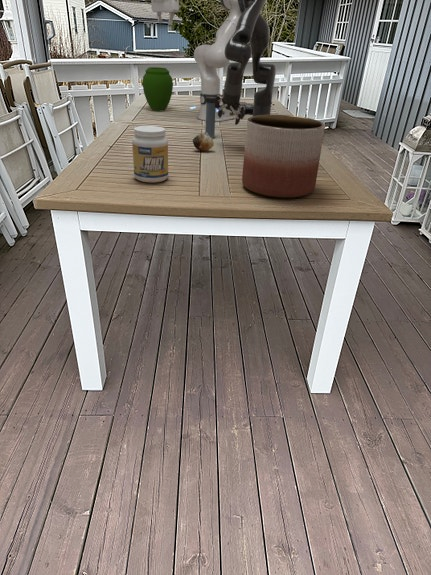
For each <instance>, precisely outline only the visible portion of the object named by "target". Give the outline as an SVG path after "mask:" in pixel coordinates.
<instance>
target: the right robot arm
mask: <svg viewBox="0 0 431 575" xmlns="http://www.w3.org/2000/svg"><path fill="white" fill-rule="evenodd" d="M266 1H267V0H243V3H244V7H245V11H244V12H243V13H242V14H241V16H240V17H239V19H238V22H237V26H236V29H235V32H234V34H233V35H232V37H231V38H230V40H229V41H228V43H227V44H226V47H225V52H224V53H225V57H226V58H227V59H228V60H230V61H231V62H232V63H228V65H227V68H226V75H225V80H224V85H223V93H222V94H221V93H220V94H219V95H218V96H217V97H216V101H215V108H217V109H218V116H219V118H220V117H221V116H222V112H223V108H226V109H227V110H230V112H232V111H233V113H234V114H233V115H234V116H235V120H234V125H235V126H237V125H239V123H240V121H241V120H243V119H244V117H245V116H246V114H245V109H246V105H240V102H241V96H242V89H243V80H244V74H245V70H246V67H247V66H248V63H249V61H250V60H251V65H252V78H253V82H254V83H255V84H259V85H265V88H263V89H261V90H258V91H255V92H254V95H253V114H252V116H257V115H271V113H272V112H271V111H272V104H271V103H273V95H274V86H275V80H276V72H277V68H276V65H275V64H274V63H264V62H261V58H262V56H263V55H264V53H265V51H266V50H267V48H268V47H269V43H270V29H269V28H270V27H269V24H268V22H267V20H266V19H265V17H264V16H263V15H262V13H261V12H262V10H263V8H264V6H265V3H266ZM230 61H229V62H230ZM221 95H223V97H222V96H221ZM220 101H222V102H223V104H222V105H221V106H220V105H219V104H220ZM239 108H240V111H241V114H240V111H239ZM235 110H236V111H235Z"/></svg>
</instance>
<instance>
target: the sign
mask: <svg viewBox="0 0 431 575" xmlns="http://www.w3.org/2000/svg"><path fill="white" fill-rule="evenodd" d="M240 105H246V109H245V115H253V105H254V103H248V102H246V101H240ZM235 111H236V110H235ZM239 111H240V108H239ZM231 113H233V111H231ZM240 114H241V111H240Z"/></svg>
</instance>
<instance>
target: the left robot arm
mask: <svg viewBox="0 0 431 575" xmlns="http://www.w3.org/2000/svg"><path fill="white" fill-rule="evenodd" d="M219 1H220V5H221V7H222V8H224V9H225V10H227V11H229V13H228V16H227V17H226V19H225V20H224V21H223V22H222V24H221V25H220V27H219V28H218V30H216V33H215V38H216V39H215V42H214V43H213V44H201V45H198V46H197V47H195V49H194V52H193V58H194V61H195V62H196V65H197V66H198V69H199V74H200V94H199V102H200V104H199V111H198V116H197V119H198V120H201V121H206V101H205V100H206V97H217V96H218V95H219V94H221V79H220V77H219V75H218V73H217V69H222V68H225V67H228V66H229V64H230V60H228V59H227V58H226V57H225V53H224V52H225V47H226V44H227V43H228V41H229V40H230V38H231V37H232V35H233V34H234V32H235V29H236V26H237V22H238V19H239V17H240V16H241V14H242V13H243V12H244V11H245V7H244V3H243V0H219ZM150 4H151V6H150V7H151V11H152V13H156V17H157V23H158V24H163V19H162V13H168V15H169V16H168V19H167V23H168V24H173V23H174V17H175V13H179V11H180V1H179V0H150ZM221 96H222V97H223V94H221ZM272 103H273V102H272ZM272 103H271V105H273V106H275V103H274V104H272ZM222 104H223V102H222V100H221V101H220V104H219V105H220V106H221V105H222ZM189 109H190V110H192V109H196V106H191V107H189ZM233 115H234V113H232V112H231V111H230V110H227V109H226V108H223V112H222V116H221V117H220V118H219V116H218V109H217V108H216V112H215V122H225V121H231V120H234V117H233Z"/></svg>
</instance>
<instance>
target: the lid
mask: <svg viewBox="0 0 431 575" xmlns="http://www.w3.org/2000/svg"><path fill="white" fill-rule="evenodd" d="M205 101H206V102H209V103H215V101H216V97H206V100H205Z"/></svg>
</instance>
